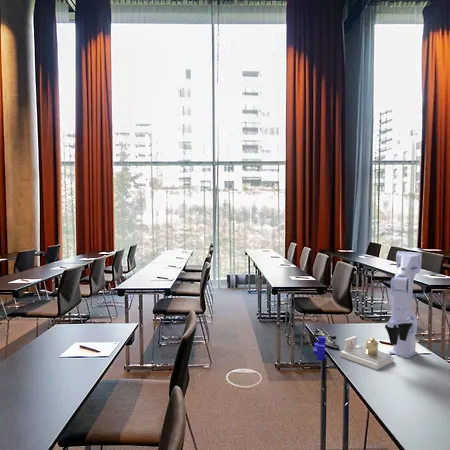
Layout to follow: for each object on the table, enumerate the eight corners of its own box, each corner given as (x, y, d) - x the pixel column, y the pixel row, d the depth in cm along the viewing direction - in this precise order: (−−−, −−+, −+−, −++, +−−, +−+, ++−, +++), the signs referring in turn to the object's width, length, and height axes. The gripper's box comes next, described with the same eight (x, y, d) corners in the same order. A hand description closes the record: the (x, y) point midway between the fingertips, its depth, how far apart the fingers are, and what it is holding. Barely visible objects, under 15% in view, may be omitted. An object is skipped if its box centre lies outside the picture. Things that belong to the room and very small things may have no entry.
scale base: (357, 349, 164) (357, 334, 163) (393, 361, 151) (394, 345, 151) (340, 356, 155) (340, 340, 155) (376, 369, 143) (377, 352, 143)
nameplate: (348, 347, 163) (325, 347, 162) (348, 351, 163) (325, 351, 162) (327, 327, 190) (308, 327, 190) (327, 330, 190) (307, 330, 190)
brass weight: (369, 350, 155) (370, 336, 154) (379, 354, 151) (380, 339, 151) (363, 353, 152) (364, 338, 152) (373, 356, 149) (374, 341, 148)
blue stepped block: (314, 349, 163) (314, 335, 163) (325, 350, 162) (325, 337, 162) (312, 359, 152) (313, 345, 152) (324, 361, 151) (324, 346, 150)
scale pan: (362, 347, 160) (362, 345, 160) (391, 357, 150) (391, 355, 150) (348, 352, 154) (348, 350, 154) (378, 363, 144) (379, 361, 144)
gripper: (401, 313, 139) (399, 349, 139) (418, 307, 148) (417, 341, 148) (382, 308, 144) (381, 343, 145) (400, 303, 153) (399, 336, 154)
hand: (398, 342), depth 147 cm, fingers open, 7 cm apart
